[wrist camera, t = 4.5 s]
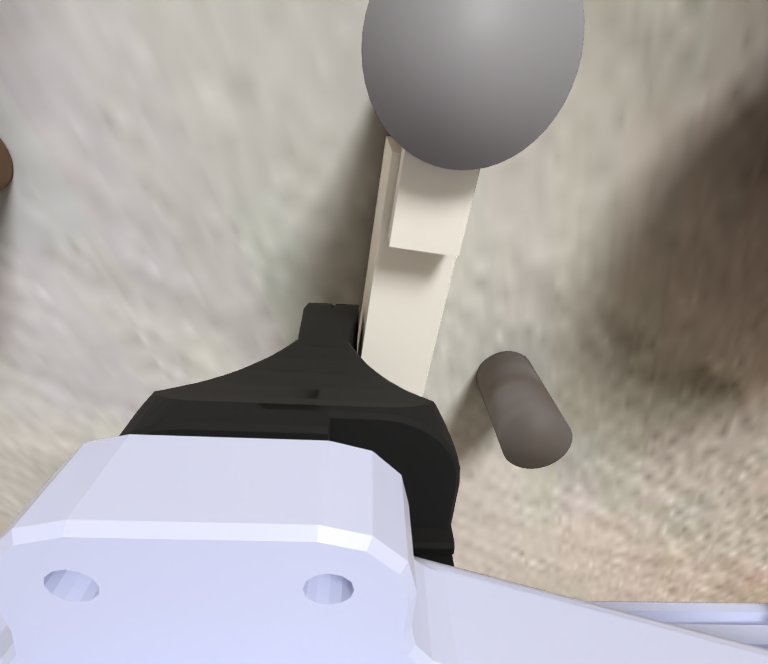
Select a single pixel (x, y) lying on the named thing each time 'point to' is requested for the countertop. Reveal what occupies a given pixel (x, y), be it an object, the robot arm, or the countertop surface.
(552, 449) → the posts
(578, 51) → the gate
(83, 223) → the countertop surface
